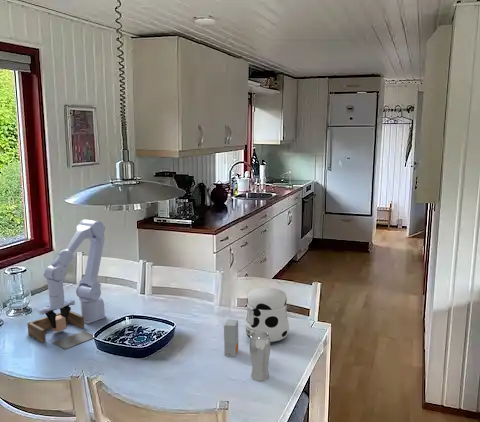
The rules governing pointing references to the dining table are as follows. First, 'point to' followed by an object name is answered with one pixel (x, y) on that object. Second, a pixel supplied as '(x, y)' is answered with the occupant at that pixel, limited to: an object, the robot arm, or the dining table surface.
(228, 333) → the skincare box
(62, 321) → the terracotta block
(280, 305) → the milk container
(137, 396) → the dining table surface
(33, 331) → the open box
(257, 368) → the beer glass
